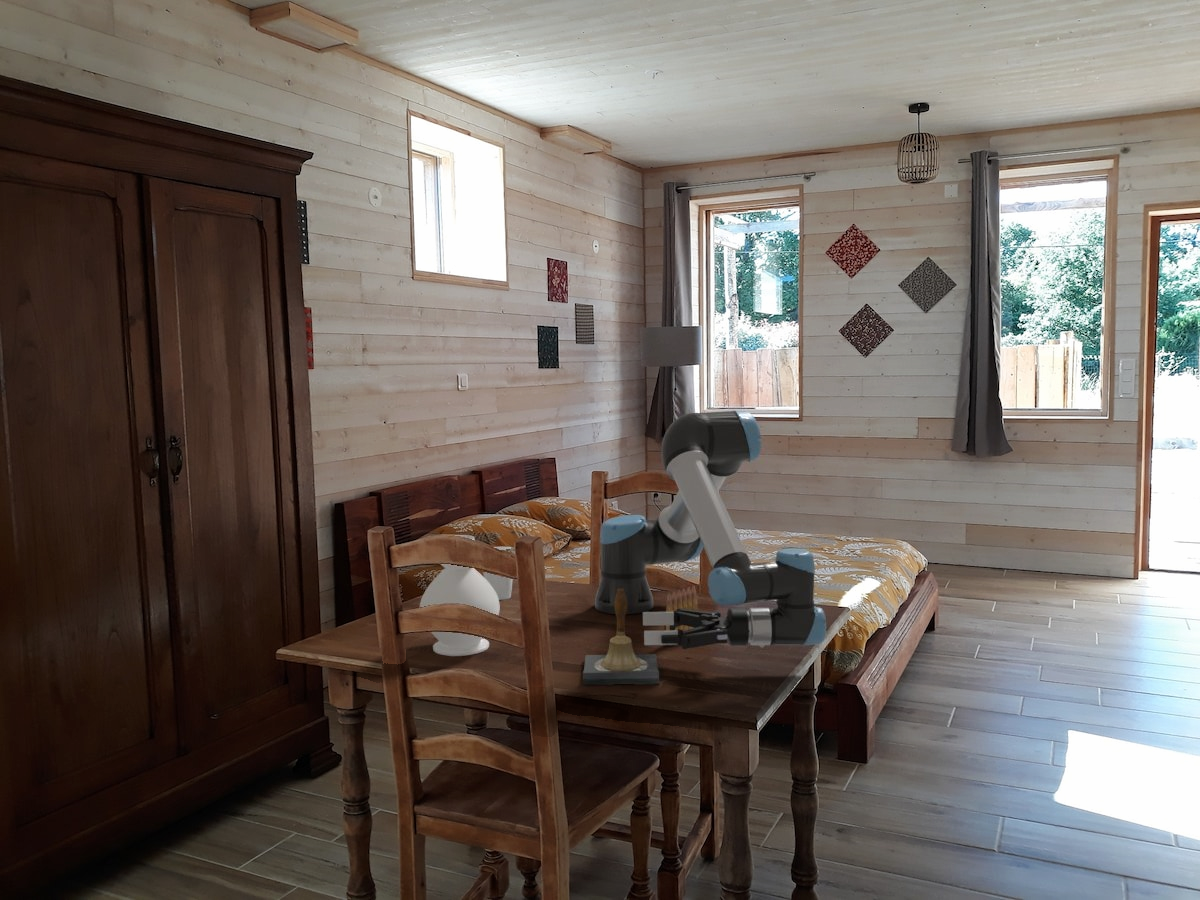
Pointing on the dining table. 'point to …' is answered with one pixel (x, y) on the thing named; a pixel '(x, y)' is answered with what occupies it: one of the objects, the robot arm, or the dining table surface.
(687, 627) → the ammunition clip
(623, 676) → the plate
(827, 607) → the dining table surface
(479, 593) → the decorative vase
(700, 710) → the dining table surface
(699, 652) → the dining table surface
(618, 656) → the hand bell
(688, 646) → the robot arm
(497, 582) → the foam cup
